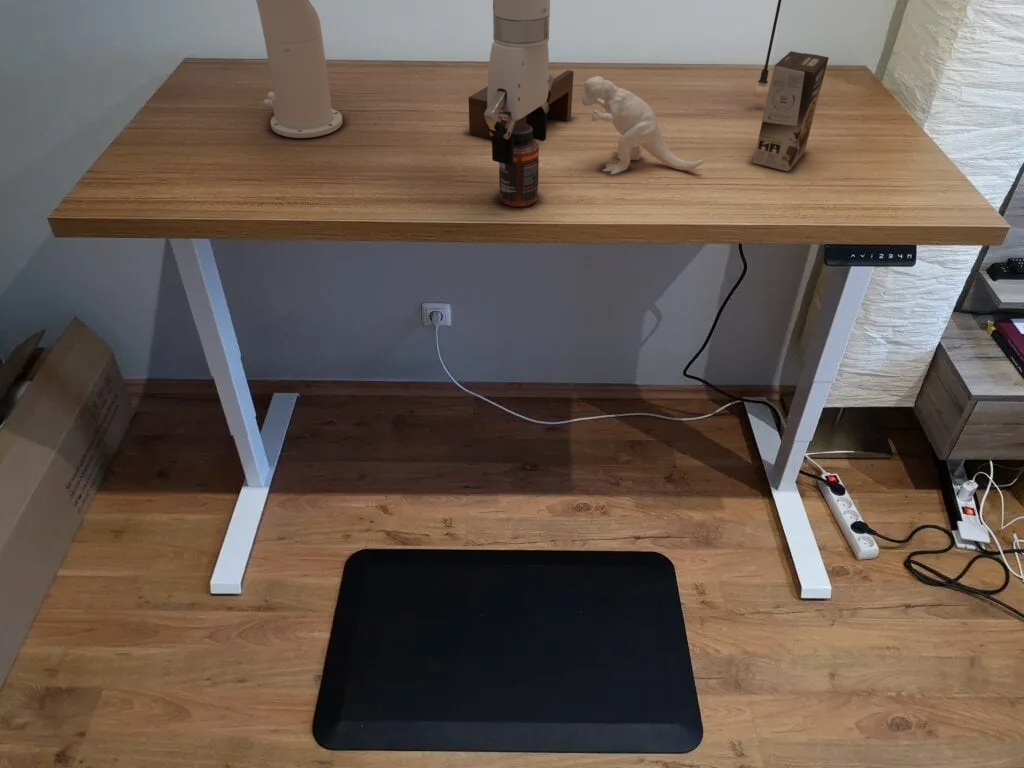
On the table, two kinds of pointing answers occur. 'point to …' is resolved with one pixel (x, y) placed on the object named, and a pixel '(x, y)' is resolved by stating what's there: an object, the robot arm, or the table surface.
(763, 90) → the light fixture
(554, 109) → the stand
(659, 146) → the dinosaur figurine
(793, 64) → the coffee box
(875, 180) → the table surface
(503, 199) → the supplement bottle
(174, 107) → the table surface
